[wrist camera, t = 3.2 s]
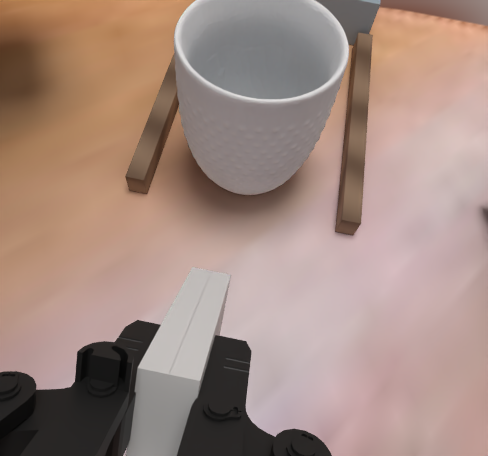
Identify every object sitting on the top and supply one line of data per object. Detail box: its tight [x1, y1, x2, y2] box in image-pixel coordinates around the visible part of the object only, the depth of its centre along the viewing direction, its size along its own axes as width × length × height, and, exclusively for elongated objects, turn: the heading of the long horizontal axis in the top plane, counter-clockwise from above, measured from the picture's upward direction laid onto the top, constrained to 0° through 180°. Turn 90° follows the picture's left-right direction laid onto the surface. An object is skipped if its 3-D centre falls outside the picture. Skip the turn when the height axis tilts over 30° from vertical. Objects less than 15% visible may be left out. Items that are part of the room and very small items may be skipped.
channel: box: [125, 32, 373, 235], centre depth 40 cm, size 23×19×2 cm
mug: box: [174, 0, 349, 195], centre depth 32 cm, size 15×11×13 cm
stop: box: [315, 0, 380, 45], centre depth 45 cm, size 3×18×5 cm, turn 79°
